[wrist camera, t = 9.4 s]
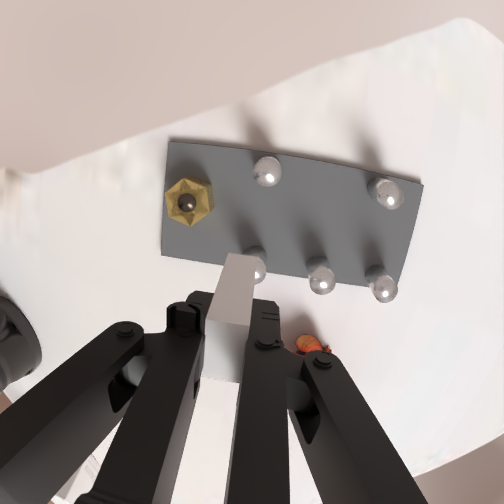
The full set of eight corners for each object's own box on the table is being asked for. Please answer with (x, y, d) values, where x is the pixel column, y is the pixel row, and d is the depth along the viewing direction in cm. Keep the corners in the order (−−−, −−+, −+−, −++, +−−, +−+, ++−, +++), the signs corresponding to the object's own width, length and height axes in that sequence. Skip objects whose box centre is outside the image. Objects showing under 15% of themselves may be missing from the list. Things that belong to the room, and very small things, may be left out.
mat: (162, 253, 34) (161, 255, 33) (170, 141, 29) (168, 141, 29) (393, 288, 33) (395, 290, 32) (421, 184, 29) (423, 185, 28)
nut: (166, 207, 31) (157, 212, 29) (179, 170, 30) (171, 173, 27) (207, 225, 31) (201, 231, 29) (222, 188, 30) (217, 192, 28)
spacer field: (242, 265, 33) (237, 282, 29) (257, 154, 29) (254, 156, 25) (382, 286, 32) (393, 303, 29) (408, 184, 28) (425, 190, 25)
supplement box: (59, 439, 52) (33, 484, 38) (89, 450, 51) (65, 499, 37) (74, 460, 55) (52, 503, 41) (104, 470, 54) (83, 516, 40)
